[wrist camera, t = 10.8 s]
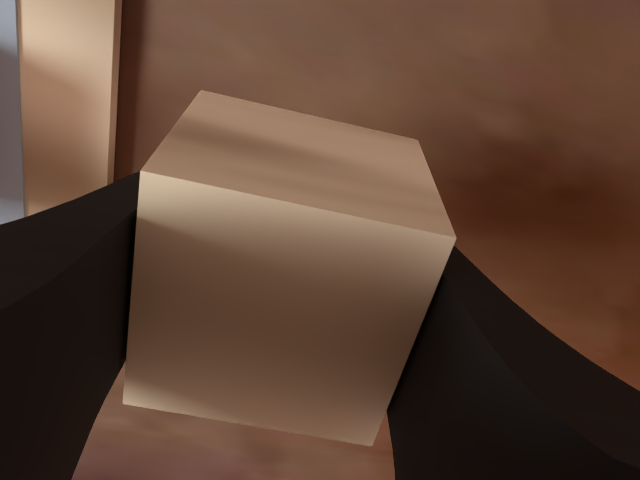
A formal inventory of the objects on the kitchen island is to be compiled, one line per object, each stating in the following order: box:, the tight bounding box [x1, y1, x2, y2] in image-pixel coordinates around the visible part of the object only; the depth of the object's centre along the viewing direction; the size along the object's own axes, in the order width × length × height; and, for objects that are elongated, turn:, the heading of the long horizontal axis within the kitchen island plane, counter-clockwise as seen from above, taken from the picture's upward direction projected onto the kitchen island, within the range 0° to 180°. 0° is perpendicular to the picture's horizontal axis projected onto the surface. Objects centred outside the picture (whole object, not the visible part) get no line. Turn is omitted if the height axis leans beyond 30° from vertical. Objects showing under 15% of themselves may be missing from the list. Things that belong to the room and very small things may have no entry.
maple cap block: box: [123, 90, 456, 446], centre depth 10 cm, size 4×4×4 cm
